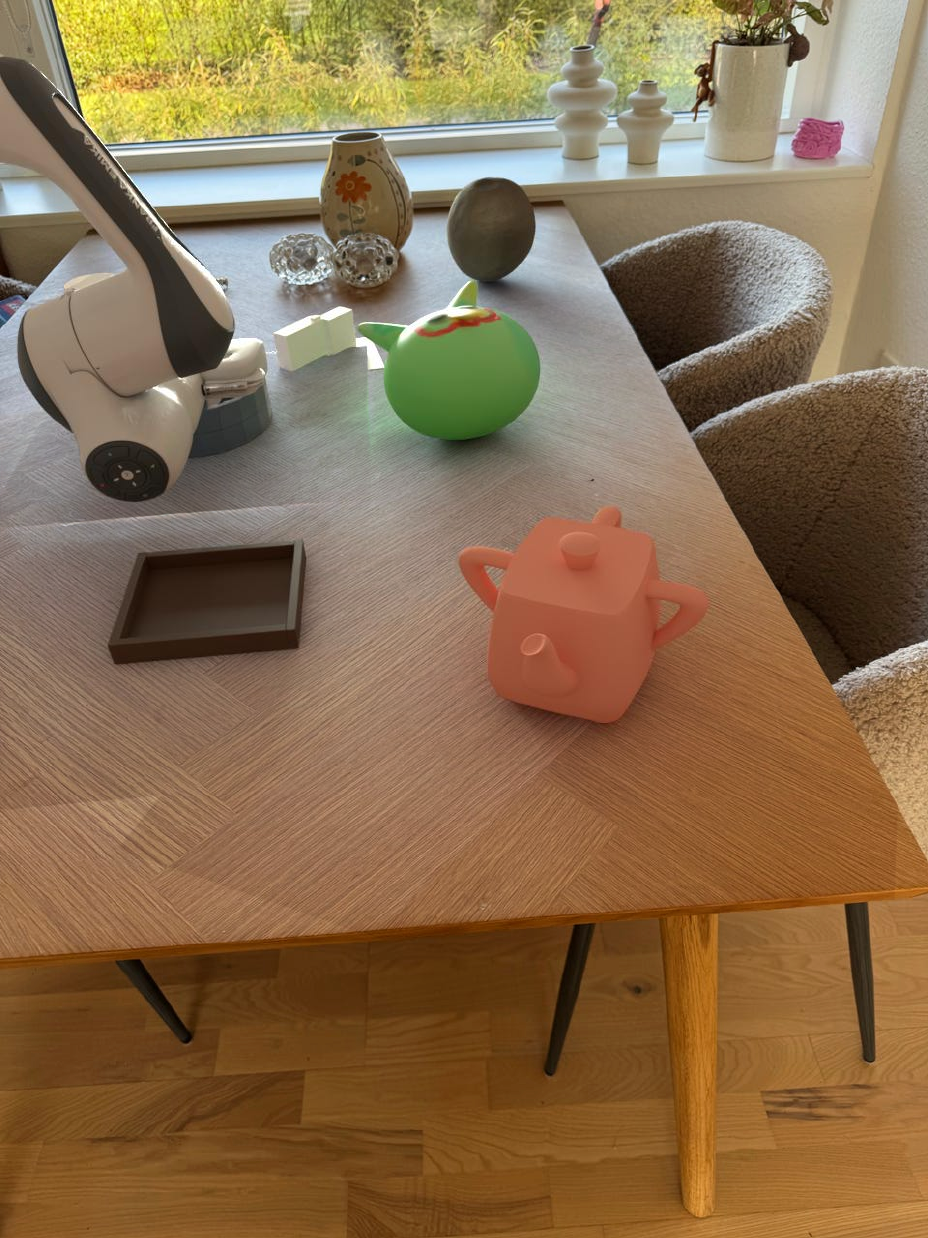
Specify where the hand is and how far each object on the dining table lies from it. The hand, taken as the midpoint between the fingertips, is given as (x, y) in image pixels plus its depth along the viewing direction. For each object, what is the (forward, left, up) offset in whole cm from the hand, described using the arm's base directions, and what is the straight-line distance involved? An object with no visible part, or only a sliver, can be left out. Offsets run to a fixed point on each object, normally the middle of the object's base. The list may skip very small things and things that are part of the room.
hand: (179, 341), depth 103 cm
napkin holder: (+14, +19, -12) cm, 26 cm away
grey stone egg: (+40, +45, -12) cm, 61 cm away
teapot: (+36, -49, -12) cm, 62 cm away
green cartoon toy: (+31, -4, -12) cm, 33 cm away
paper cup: (-12, +14, -12) cm, 22 cm away
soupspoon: (-13, +48, -12) cm, 51 cm away
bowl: (0, +1, -11) cm, 11 cm away
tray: (+6, -35, -11) cm, 37 cm away
